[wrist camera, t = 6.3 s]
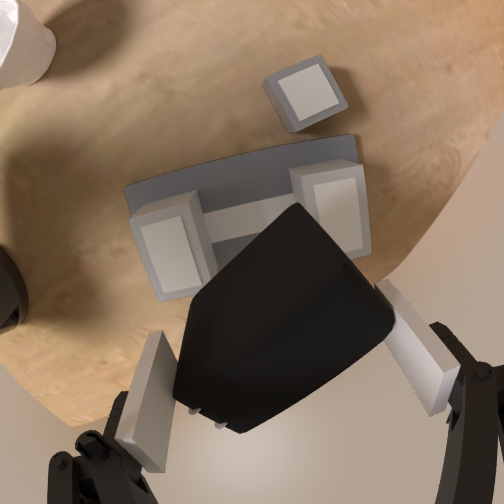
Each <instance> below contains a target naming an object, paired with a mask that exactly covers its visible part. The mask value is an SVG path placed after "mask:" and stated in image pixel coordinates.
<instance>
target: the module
mask: <svg viewBox="0 0 504 504" xmlns="http://www.w3.org/2000/svg"><path fill="white" fill-rule="evenodd" d="M261 86H262V87H263V89H264V91H265V93H266V94H267V96H268V98H269V100H270V101H271V103H272V105H273V107H274V108H275V110H276V112H277V114H278V116H279V117H280V119H281V121H282V123H283V125H284V127H285V128H286V130H287V132H298V131H300V130H302V129H304V128H306V127H308V126H310V125H312V124H314V123H317V122H319V121H321V120H323V119H325V118H327V117H329V116H332V115H334V114H336V113H338V112H341V111H343V110H345V109H347V108H349V106H348V104H347V102H346V100H345V98H344V96H343V94H342V92H341V90H340V88H339V86H338V84H337V83H336V81H335V79H334V77H333V75H332V73H331V72H330V70H329V68H328V66H327V64H326V63H325V61H324V59H323V57H322V56H321V55H318V56H315V57H313V58H310V59H308V60H305V61H303V62H300V63H298V64H296V65H293V66H291V67H288V68H286V69H284V70H282V71H279V72H277V73H275V74H273V75H270V76H268V77H266V78H265V80H264V82H263V84H262V85H261Z"/></svg>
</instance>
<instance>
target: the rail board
mask: <svg viewBox="0 0 504 504" xmlns="http://www.w3.org/2000/svg"><path fill="white" fill-rule="evenodd" d="M123 190H124V193H125V197H126V200H127V203H128V206H129V209H130V212H131V215H132V216H131V217H130V218H129V219H128V222H129V225H130V228H131V231H132V233H133V236H134V239H135V242H136V245H137V248H138V250H139V253H140V256H141V259H142V261H143V264H144V266H145V269H146V272H147V274H148V277H149V279H150V282H151V284H152V287H153V289H154V292H155V294H156V297H157V299H158V302H163V301H168V300H173V299H178V298H183V297H188V296H193V295H196V294H197V293H198V292H199V291H200V289H201V288H203V287H204V286H205V285H206V284H207V283H208V282H209V281H210V280H211V279H212V278H213V277H214V276H215V275H216V274H217V273H218V272H219V271H221V270H222V269H223V268H224V267H225V266H226V265H227V264H228V263H229V262H230V261H231V260H232V259H233V258H234V257H235V256H236V255H238V254H239V253H240V252H241V251H242V250H243V249H244V248H245V247H246V246H247V245H248V244H249V243H250V242H251V241H252V240H254V239H255V238H256V237H257V236H258V235H259V234H260V233H261V232H262V231H263V230H264V229H265V228H266V227H267V226H268V225H270V224H271V223H272V222H273V221H274V220H275V219H276V218H277V217H278V216H279V215H280V214H281V213H282V212H283V211H285V210H286V209H287V208H288V207H289V206H291V205H292V204H294V203H296V202H298V203H300V204H301V205H302V206H303V207H304V208H305V209H306V210H307V211H308V212H309V213H310V215H311V216H312V217H313V218H314V219H315V220H316V221H317V222H318V223H319V224H320V225H321V227H322V228H323V229H324V230H325V231H326V232H327V233H328V234H329V236H330V237H331V238H332V239H333V240H334V241H335V242H336V243H337V245H338V246H339V247H340V248H341V249H342V250H343V252H344V253H345V254H346V255H347V256H348V257H349V259H350V260H351V259H355V258H359V257H363V256H366V255H370V254H372V249H371V235H370V223H369V212H368V202H367V193H366V185H365V177H364V170H363V165H361V164H359V161H358V155H357V148H356V142H355V136H354V134H345V135H338V136H331V137H325V138H319V139H313V140H307V141H301V142H296V143H291V144H285V145H280V146H275V147H270V148H265V149H261V150H256V151H252V152H247V153H243V154H238V155H234V156H230V157H226V158H222V159H218V160H214V161H210V162H206V163H202V164H198V165H194V166H191V167H187V168H183V169H180V170H176V171H173V172H169V173H166V174H163V175H159V176H156V177H153V178H149V179H146V180H143V181H140V182H137V183H134V184H130V185H127V186H126V187H124V188H123Z"/></svg>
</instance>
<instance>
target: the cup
mask: <svg viewBox="0 0 504 504" xmlns="http://www.w3.org/2000/svg"><path fill="white" fill-rule="evenodd" d="M55 50H56V39H55V36H54V34H53V33H52V31H51V30H50V29H48V28H46V27H45V26H44V25H43V24H42V23H41V22H39V21H38V20H37V19H36V17H35V15H34V14H33V12H32V11H31V9H30V8H29V7H28V6H27V5H26V4H25V3H23V2H22V1H21V0H0V91H2V90H3V89H6V88H11V87H17V86H29V85H31V84H33V83H34V82H36V81H37V80H39V79H40V78H41V77H42V76H43V75H44V73H45V72H46V71H47V70H48V68H49V66H50V64H51V62H52V60H53V58H54V54H55Z"/></svg>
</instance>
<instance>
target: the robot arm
mask: <svg viewBox="0 0 504 504" xmlns="http://www.w3.org/2000/svg"><path fill="white" fill-rule="evenodd" d="M374 288H375V290H376V292H377V293H378V294H379V295H380V297H381V298H382V299H383V301H384V302H385V303H386V304H387V306H388V307H389V308H390V310H391V311H392V312H393V315H394V318H395V323H394V326H393V330H392V331H391V332H390V334H389V335H388V336H387V337H386V338H385V339H384V342H385V343H386V345H387V346H388V348H389V350H390V351H391V353H392V354H393V356H394V358H395V359H396V361H397V363H398V364H399V366H400V368H401V369H402V371H403V372H404V374H405V376H406V378H407V379H408V381H409V382H410V384H411V386H412V388H413V389H414V391H415V393H416V395H417V396H418V398H419V400H420V401H421V403H422V405H423V407H424V409H425V410H426V412H427V414H428V416H429V417H431V416H433V415H435V414H438V413H440V412H442V411H444V410H445V408H446V406H447V403H448V402H449V404H450V405H451V407H452V410H451V412H450V414H449V416H448V419H447V422H446V423H449V430H448V439H447V446H446V452H445V458H444V465H443V470H442V475H441V480H440V484H439V489H438V493H437V497H436V501H435V504H492V499H493V492H494V485H495V476H496V465H497V448H498V437H499V441H500V446H501V451H502V456H503V461H504V365H501V366H497V367H492V366H491V365H490V364H488V363H486V362H480V361H479V362H477V361H476V360H475V358H474V357H473V356H472V355H471V354H470V353H469V351H468V350H467V349H466V348H465V347H464V346H463V344H462V343H461V342H460V341H458V339H457V337H456V336H455V335H453V333H452V332H451V331H450V330H449V328H447V326H445V325H443V324H441V323H439V322H435V323H433V324H430V325H428V324H427V323H426V322H425V321H424V320H423V318H422V317H421V316H420V315H419V314H418V313H417V311H416V310H415V309H414V308H413V307H412V306H411V305H410V303H409V302H408V301H407V300H406V299H405V298H404V297H403V295H402V294H401V293H400V292H399V291H398V290H397V289H396V288H395V287H394V286H393V284H392V283H391V282H390V281H389V280H388V279H387V280H383V281H380V282H376V283H374ZM27 310H28V297H27V292H26V288H25V285H24V282H23V280H22V277H21V275H20V273H19V271H18V269H17V268H16V266H15V264H14V263H13V261H12V260H11V259H10V258H9V256H8V255H7V254H6V253H5V252H4V251H3V250H2V249H0V335H1V334H3V333H6V332H8V331H10V330H12V329H14V328H15V327H17V326H18V325H19V324H20V322H21V321H22V320H23V319H24V318H25V316H26V314H27ZM177 366H178V362H177V360H176V358H175V356H174V354H173V351H172V349H171V347H170V345H169V343H168V341H167V339H166V337H165V335H164V333H163V330H162V331H156V332H150V333H149V335H148V337H147V340H146V343H145V346H144V348H143V351H142V354H141V357H140V360H139V363H138V366H137V369H136V372H135V375H134V377H133V380H132V384H131V387H130V390H129V391H121V392H120V394H119V395H118V396H117V397H116V399H115V400H114V403H113V406H112V410H111V412H110V415H109V416H110V417H109V418H108V421H107V424H106V427H105V430H104V434H103V436H102V435H101V434H100V433H99V432H97V431H96V430H89V431H86V432H84V433H82V434H81V435H80V436H79V437H78V439H77V440H76V443H75V449H76V450H77V451H78V452H79V453H80V454H81V455H82V456H77V457H72V456H71V455H70V454H69V453H67V452H65V451H60V452H58V453H56V454H55V455H54V456H52V458H51V460H50V463H49V472H48V493H47V504H158V502H157V500H156V498H155V497H154V495H153V493H152V491H151V490H150V487H149V485H148V483H147V481H146V479H145V478H144V476H143V475H142V474H141V470H142V467H143V468H144V469H145V470H146V471H147V472H150V473H165V467H166V460H167V453H168V446H169V440H170V433H171V426H172V419H173V414H174V407H175V402H176V400H175V399H174V398H173V394H172V392H173V387H174V381H175V376H176V371H177Z"/></svg>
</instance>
